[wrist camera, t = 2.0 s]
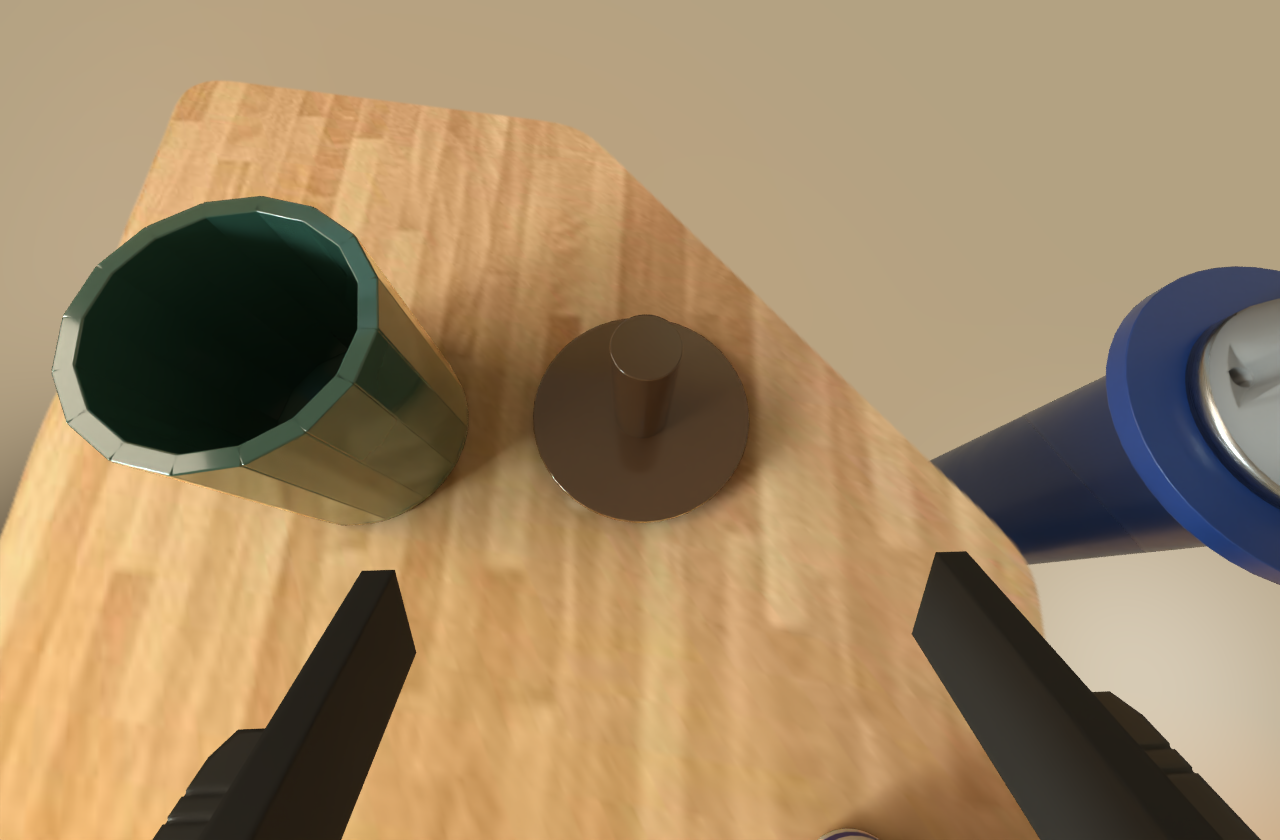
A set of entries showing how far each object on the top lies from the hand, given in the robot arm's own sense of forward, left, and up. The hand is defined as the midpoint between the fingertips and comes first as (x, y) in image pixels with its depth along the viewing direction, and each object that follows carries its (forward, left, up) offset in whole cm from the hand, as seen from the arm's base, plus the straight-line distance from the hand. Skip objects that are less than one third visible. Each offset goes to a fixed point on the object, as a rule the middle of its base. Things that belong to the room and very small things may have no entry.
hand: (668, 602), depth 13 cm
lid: (+9, -5, -16) cm, 19 cm away
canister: (+17, +9, -17) cm, 25 cm away
